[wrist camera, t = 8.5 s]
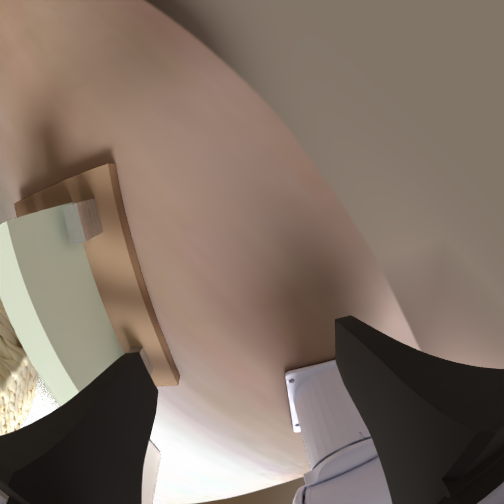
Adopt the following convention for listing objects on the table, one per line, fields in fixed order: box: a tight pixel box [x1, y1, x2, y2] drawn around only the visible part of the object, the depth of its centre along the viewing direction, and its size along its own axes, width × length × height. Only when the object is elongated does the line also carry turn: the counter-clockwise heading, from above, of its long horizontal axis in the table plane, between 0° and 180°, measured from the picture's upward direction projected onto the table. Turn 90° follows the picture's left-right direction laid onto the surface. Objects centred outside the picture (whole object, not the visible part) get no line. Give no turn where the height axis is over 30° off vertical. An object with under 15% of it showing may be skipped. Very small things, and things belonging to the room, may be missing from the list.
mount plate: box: [14, 163, 180, 387], centre depth 19 cm, size 18×10×1 cm, turn 10°
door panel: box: [0, 202, 125, 407], centre depth 14 cm, size 14×3×7 cm, turn 10°
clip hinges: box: [63, 198, 154, 376], centre depth 17 cm, size 14×7×2 cm, turn 10°
